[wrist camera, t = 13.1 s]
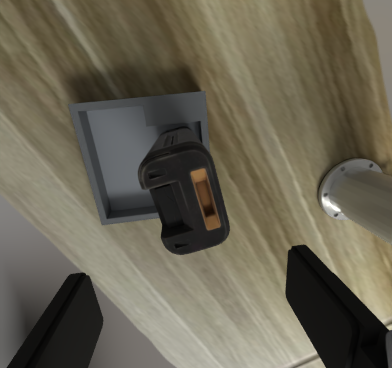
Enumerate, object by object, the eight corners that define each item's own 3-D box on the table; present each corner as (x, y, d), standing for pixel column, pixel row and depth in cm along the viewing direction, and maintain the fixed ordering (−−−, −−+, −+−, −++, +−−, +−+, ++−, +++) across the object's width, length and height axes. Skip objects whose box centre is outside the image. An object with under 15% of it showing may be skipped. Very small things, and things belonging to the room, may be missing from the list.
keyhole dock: (202, 93, 34) (205, 90, 30) (210, 201, 40) (214, 210, 36) (80, 105, 33) (68, 104, 29) (109, 214, 39) (101, 225, 35)
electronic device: (155, 133, 34) (129, 162, 15) (190, 123, 34) (208, 138, 15) (172, 185, 37) (169, 262, 18) (205, 176, 37) (234, 243, 18)
